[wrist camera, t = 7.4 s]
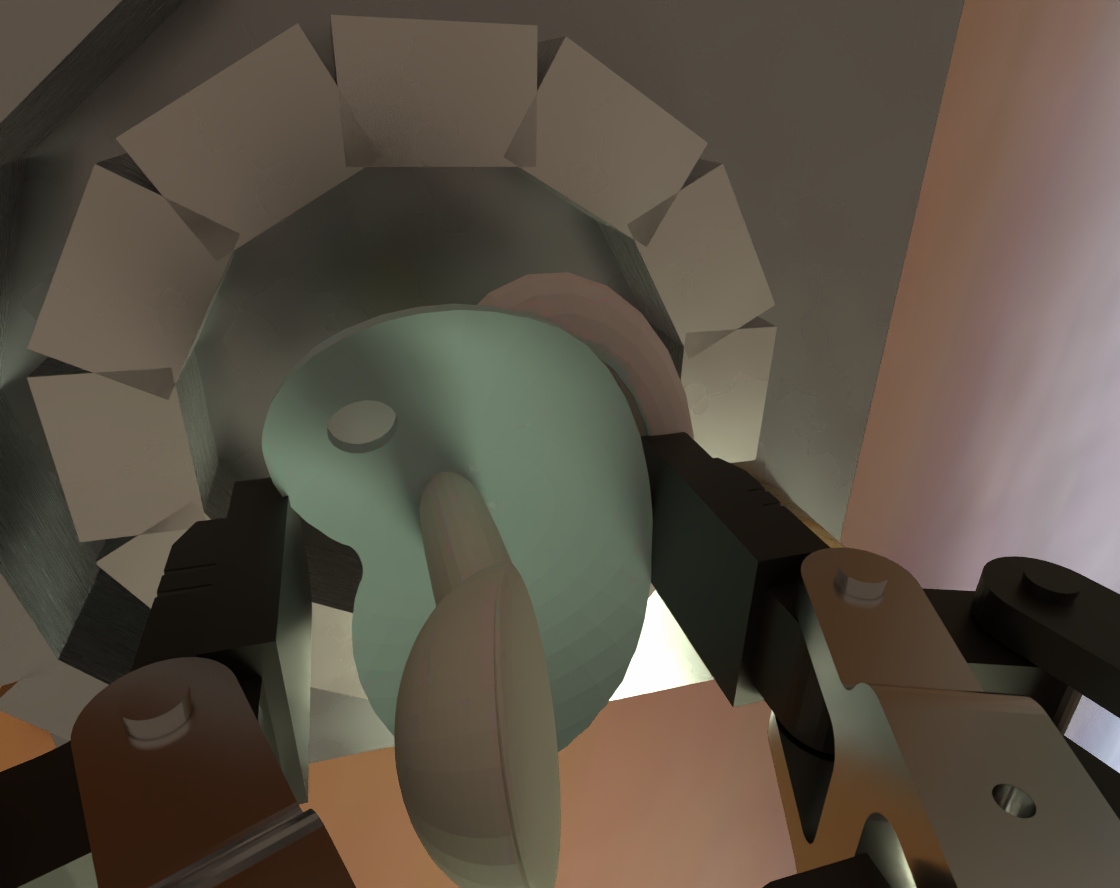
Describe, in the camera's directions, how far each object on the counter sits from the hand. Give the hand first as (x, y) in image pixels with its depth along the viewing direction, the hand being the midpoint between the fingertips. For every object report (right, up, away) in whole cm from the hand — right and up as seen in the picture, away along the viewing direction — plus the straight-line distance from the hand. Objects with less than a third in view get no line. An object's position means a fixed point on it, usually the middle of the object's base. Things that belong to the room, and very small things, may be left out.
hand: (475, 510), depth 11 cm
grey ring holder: (-1, +2, +6) cm, 6 cm away
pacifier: (0, 0, +1) cm, 1 cm away
